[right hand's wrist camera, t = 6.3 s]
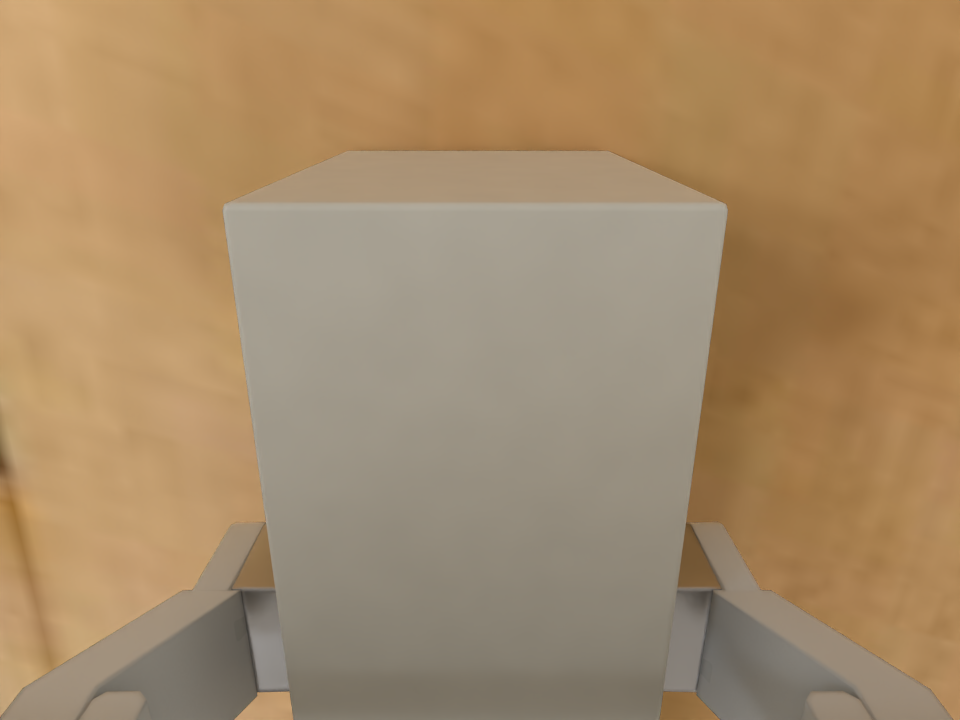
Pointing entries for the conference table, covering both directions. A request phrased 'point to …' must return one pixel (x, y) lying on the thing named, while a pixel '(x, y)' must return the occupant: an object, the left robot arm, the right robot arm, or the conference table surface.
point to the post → (475, 426)
